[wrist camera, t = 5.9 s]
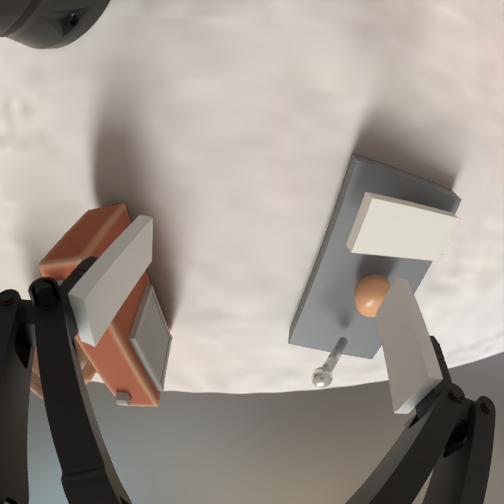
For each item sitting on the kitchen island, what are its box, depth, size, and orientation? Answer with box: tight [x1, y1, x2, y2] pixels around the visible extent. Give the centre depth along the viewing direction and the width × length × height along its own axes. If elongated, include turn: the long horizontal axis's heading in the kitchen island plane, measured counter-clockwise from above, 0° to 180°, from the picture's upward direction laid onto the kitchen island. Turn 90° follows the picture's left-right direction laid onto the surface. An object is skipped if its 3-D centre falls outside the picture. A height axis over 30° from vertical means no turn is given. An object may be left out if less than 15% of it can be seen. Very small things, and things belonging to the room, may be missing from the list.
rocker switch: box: [346, 192, 459, 261], centre depth 25 cm, size 5×11×1 cm, turn 79°
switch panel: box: [288, 154, 461, 359], centre depth 32 cm, size 24×12×4 cm, turn 169°
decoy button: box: [354, 274, 391, 317], centre depth 30 cm, size 4×4×2 cm
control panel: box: [38, 203, 172, 406], centre depth 33 cm, size 21×7×15 cm, turn 7°
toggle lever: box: [312, 337, 348, 387], centre depth 32 cm, size 2×2×8 cm
